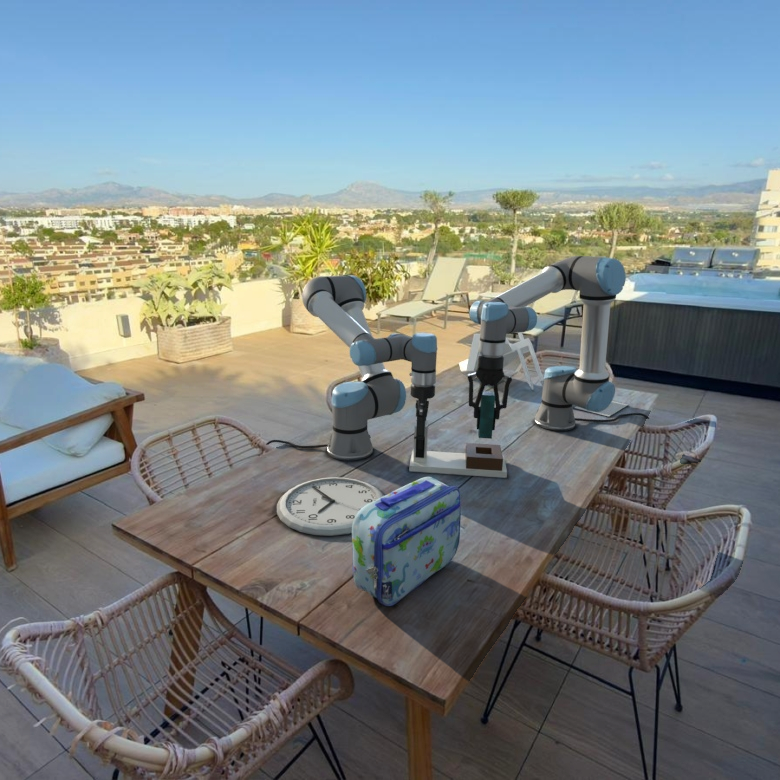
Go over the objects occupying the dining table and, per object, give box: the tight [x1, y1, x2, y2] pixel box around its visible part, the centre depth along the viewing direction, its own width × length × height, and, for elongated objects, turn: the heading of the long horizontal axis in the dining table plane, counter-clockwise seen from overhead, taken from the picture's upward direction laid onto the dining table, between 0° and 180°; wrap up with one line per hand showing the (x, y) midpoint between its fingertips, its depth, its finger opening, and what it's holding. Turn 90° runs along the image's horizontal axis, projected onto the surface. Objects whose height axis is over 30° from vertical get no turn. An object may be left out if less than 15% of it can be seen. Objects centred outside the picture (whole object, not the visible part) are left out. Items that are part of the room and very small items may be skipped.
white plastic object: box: [458, 332, 544, 391], centre depth 259 cm, size 37×45×31 cm
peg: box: [477, 390, 496, 440], centre depth 161 cm, size 4×4×14 cm
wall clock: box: [276, 476, 385, 537], centre depth 142 cm, size 30×2×30 cm
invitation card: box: [573, 400, 629, 418], centre depth 226 cm, size 21×1×15 cm
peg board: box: [408, 419, 508, 479], centre depth 165 cm, size 30×12×14 cm, turn 83°
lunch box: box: [351, 476, 462, 607], centre depth 111 cm, size 26×11×21 cm, turn 135°
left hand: (420, 452), depth 168 cm, fingers closed on peg board, 6 cm apart
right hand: (485, 428), depth 163 cm, fingers closed on peg, 4 cm apart
